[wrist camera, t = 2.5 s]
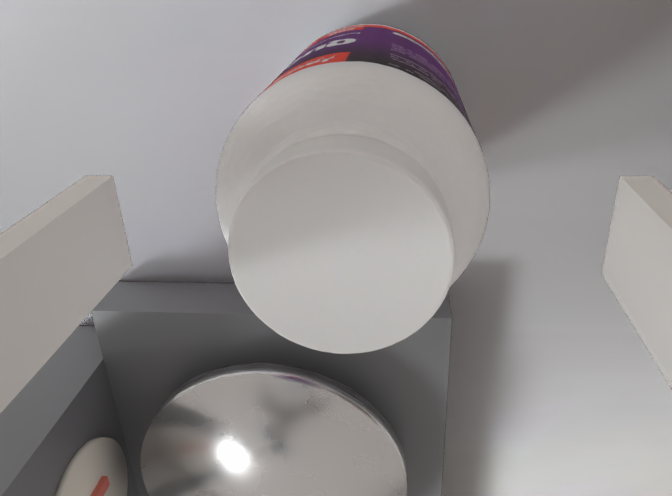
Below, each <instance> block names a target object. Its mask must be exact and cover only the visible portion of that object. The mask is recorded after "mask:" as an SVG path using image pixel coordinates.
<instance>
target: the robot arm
mask: <svg viewBox="0 0 672 496" xmlns="http://www.w3.org/2000/svg"><path fill="white" fill-rule="evenodd" d="M131 266H132V261H131V256H130V252H129V247H128V243H127V238H126V233H125V229H124V224H123V220H122V215H121V211H120V206H119V202H118V197H117V192H116V188H115V183H114V179H113V176H85V177H83V178H82V179H80V180H79V181H77V182H76V183H75V184H73V185H72V186H70V187H69V188H67V189H66V190H64V191H63V192H61V193H60V194H58V195H57V196H56V197H54V198H53V199H51V200H50V201H48V202H47V203H45V204H44V205H42V206H41V207H39V208H38V209H37V210H35V211H34V212H32V213H31V214H29V215H28V216H26V217H25V218H23V219H22V220H20V221H19V222H18V223H16V224H15V225H13V226H12V227H10V228H9V229H7V230H6V231H4V232H3V233H1V234H0V414H1V412H2V411H3V410H4V409H5V408H6V407H7V406H8V405H9V403H10V402H11V401H12V400H13V399H14V398H15V397H16V396H17V394H18V393H19V392H20V391H21V390H22V389H23V388H24V387H25V385H26V384H27V383H28V382H29V381H30V380H31V379H32V378H33V376H34V375H35V374H36V373H37V372H38V371H39V370H40V369H41V367H42V366H43V365H44V364H45V363H46V362H47V361H48V360H49V358H50V357H51V356H52V355H53V354H54V353H55V352H56V351H57V349H58V348H59V347H60V346H61V345H62V344H63V343H64V342H65V340H66V339H67V338H68V337H69V336H70V335H71V334H72V333H73V331H74V330H75V329H76V328H77V327H78V326H79V325H80V324H81V322H82V321H83V320H84V319H85V318H86V317H87V316H88V315H89V313H90V312H91V311H92V310H93V309H94V308H95V307H96V306H97V304H98V303H99V302H100V301H101V300H102V299H103V298H104V297H105V295H106V294H107V293H108V292H109V291H110V290H111V289H112V288H113V286H114V285H115V284H116V283H117V282H118V281H119V280H120V279H121V277H122V276H123V275H124V274H125V273H126V272H127V271H128V270H129V268H130V267H131ZM601 274H602V276H603V278H604V279H605V281H606V282H607V284H608V286H609V287H610V289H611V291H612V292H613V294H614V296H615V297H616V299H617V300H618V302H619V304H620V305H621V307H622V309H623V310H624V312H625V314H626V315H627V317H628V318H629V320H630V322H631V323H632V325H633V327H634V328H635V330H636V332H637V333H638V335H639V336H640V338H641V340H642V341H643V343H644V345H645V346H646V348H647V350H648V351H649V353H650V355H651V356H652V358H653V359H654V361H655V363H656V364H657V366H658V368H659V369H660V371H661V373H662V374H663V376H664V377H665V379H666V381H667V382H668V384H669V386H670V387H671V389H672V193H671V192H670V191H669V190H668V189H667V188H666V187H665V186H663V185H662V184H661V183H660V182H659V181H658V180H657V179H656V178H655V177H653V176H620V178H619V184H618V189H617V194H616V199H615V205H614V210H613V215H612V221H611V226H610V231H609V236H608V242H607V247H606V252H605V258H604V263H603V268H602V273H601Z"/></svg>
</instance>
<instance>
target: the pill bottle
mask: <svg viewBox="0 0 672 496" xmlns="http://www.w3.org/2000/svg"><path fill="white" fill-rule="evenodd" d="M489 204H490V187H489V176H488V171H487V166H486V163H485V159H484V156H483V153H482V150H481V147H480V145H479V142H478V140H477V137H476V135H475V133H474V131H473V128H472V126H471V123H470V121H469V119H468V116H467V114H466V111H465V109H464V106H463V104H462V101H461V99H460V96H459V94H458V91H457V88H456V86H455V83H454V81H453V78H452V76H451V74H450V72H449V71H448V69H447V68H446V66H445V64H444V63H443V61H442V60H441V59H440V58H439V56H438V55H437V54H436V53H435V52H434V51H433V50H432V49H431V48H430V47H429V46H428V45H426V44H425V43H424V42H423V41H421V40H420V39H418V38H416V37H415V36H413V35H411V34H409V33H407V32H405V31H403V30H400V29H397V28H394V27H391V26H386V25H380V24H357V25H351V26H346V27H343V28H340V29H337V30H335V31H332V32H330V33H328V34H326V35H324V36H322V37H321V38H319V39H318V40H316V41H315V42H313V43H312V44H311V45H310V46H309V47H308V48H306V49H305V50H304V51H303V52H302V53H301V54H300V55H299V56H298V57H297V58H296V59H295V60H294V61H293V62H292V63H291V64H290V65H289V66H288V67H287V68H286V69H285V70H284V71H283V72H282V73H281V74H280V75H279V76H278V77H277V78H276V79H275V80H274V81H273V82H272V83H271V84H270V85H269V86H268V87H267V88H266V89H265V90H264V91H263V92H262V93H261V94H260V95H259V96H258V97H257V98H256V99H255V100H254V101H253V102H252V103H251V104H250V105H249V106H248V107H247V109H246V110H245V111H244V112H243V114H242V115H241V116H240V118H239V119H238V120H237V122H236V123H235V125H234V127H233V128H232V130H231V132H230V134H229V136H228V138H227V140H226V143H225V145H224V148H223V151H222V154H221V157H220V161H219V165H218V170H217V176H216V206H217V213H218V218H219V222H220V226H221V229H222V233H223V235H224V237H225V240H226V242H227V244H228V257H229V264H230V269H231V273H232V276H233V279H234V282H235V285H236V287H237V289H238V291H239V293H240V294H241V296H242V298H243V299H244V301H245V302H246V304H247V305H248V306H249V307H250V309H251V310H252V311H253V312H254V314H255V315H256V316H257V317H258V318H259V319H260V320H261V321H263V322H264V323H265V324H266V325H267V326H268V327H270V328H271V329H272V330H274V331H275V332H276V333H278V334H279V335H281V336H283V337H285V338H286V339H288V340H290V341H292V342H295V343H297V344H300V345H302V346H305V347H308V348H310V349H314V350H318V351H323V352H330V353H339V354H352V353H364V352H371V351H375V350H378V349H382V348H385V347H388V346H390V345H393V344H395V343H397V342H399V341H401V340H403V339H405V338H407V337H409V336H410V335H412V334H413V333H415V332H416V331H418V330H419V329H420V328H421V327H422V326H423V325H424V324H425V323H426V322H427V321H428V320H429V319H430V318H431V317H432V316H433V315H434V314H435V312H436V311H437V310H438V308H439V307H440V306H441V304H442V302H443V300H444V299H445V297H446V295H447V292H448V290H449V288H450V286H451V285H452V284H453V283H454V282H455V281H456V280H457V279H458V278H459V277H460V275H461V274H462V273H463V271H464V270H465V269H466V268H467V266H468V265H469V263H470V262H471V260H472V258H473V257H474V255H475V253H476V251H477V249H478V247H479V245H480V243H481V240H482V238H483V234H484V231H485V228H486V224H487V219H488V213H489Z"/></svg>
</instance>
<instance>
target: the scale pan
mask: <svg viewBox="0 0 672 496" xmlns="http://www.w3.org/2000/svg"><path fill="white" fill-rule="evenodd" d="M141 471H142V477H143V481H144V484H145V487H146V490H147V492H148V494H149V496H407V473H406V461H405V457H404V453H403V448H402V446H401V444H400V441H399V439H398V437H397V435H396V433H395V432H394V430H393V428H392V427H391V425H390V424H389V422H388V421H387V420H386V419H385V417H384V416H383V415H382V414H381V413H380V412H379V410H378V409H376V408H375V407H374V406H373V405H372V404H371V403H370V402H369V401H368V400H367V399H365V398H364V397H362V396H361V395H360V394H358V393H357V392H355V391H354V390H353V389H351V388H349V387H347V386H346V385H344V384H342V383H340V382H338V381H337V380H334V379H332V378H330V377H327V376H325V375H322V374H320V373H317V372H314V371H310V370H307V369H304V368H300V367H295V366H290V365H285V364H275V363H242V364H235V365H228V366H224V367H220V368H216V369H213V370H210V371H207V372H205V373H202V374H200V375H198V376H196V377H194V378H192V379H190V380H189V381H187V382H185V383H184V384H182V385H181V386H180V387H179V388H177V389H176V390H175V391H174V392H172V393H171V395H170V396H169V397H168V398H167V399H166V400H165V401H164V402H163V404H162V406H161V407H160V409H159V410H158V412H157V414H156V415H155V417H154V419H153V421H152V423H151V425H150V427H149V428H148V431H147V433H146V436H145V438H144V441H143V445H142V450H141Z"/></svg>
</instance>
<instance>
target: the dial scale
mask: <svg viewBox="0 0 672 496" xmlns="http://www.w3.org/2000/svg"><path fill="white" fill-rule="evenodd" d="M91 313H92V317H93V321H94V325H95V326H78V327H77V328H76V329H75V330H74V331H73V333H72V334H71V335H70V336H69V337H68V338H67V339H66V340H65V342H64V343H63V344H62V345H61V346H60V347H59V348H58V349H57V351H56V352H55V353H54V354H53V355H52V356H51V357H50V358H49V360H48V361H47V362H46V363H45V364H44V365H43V366H42V367H41V369H40V370H39V371H38V372H37V373H36V374H35V375H34V376H33V378H32V379H31V380H30V381H29V382H28V383H27V384H26V385H25V387H24V388H23V389H22V390H21V391H20V392H19V393H18V394H17V396H16V397H15V398H14V399H13V400H12V401H11V402H10V403H9V405H8V406H7V407H6V408H5V409H4V410H3V411H2V412H1V414H0V496H149V494H148V492H147V490H146V487H145V484H144V481H143V477H142V471H141V450H142V445H143V441H144V438H145V436H146V433H147V431H148V428H149V427H150V425H151V423H152V421H153V419H154V417H155V415H156V414H157V412H158V410H159V409H160V407H161V406H162V404H163V402H164V401H165V400H166V399H167V398H168V397H169V396H170V395H171V393H172V392H174V391H175V390H176V389H177V388H179V387H180V386H181V385H182V384H184V383H185V382H187V381H189V380H190V379H192V378H194V377H196V376H198V375H200V374H202V373H205V372H207V371H210V370H213V369H216V368H220V367H224V366H228V365H235V364H242V363H275V364H285V365H290V366H295V367H300V368H304V369H307V370H310V371H314V372H317V373H320V374H322V375H325V376H327V377H330V378H332V379H334V380H337V381H338V382H340V383H342V384H344V385H346V386H347V387H349V388H351V389H353V390H354V391H355V392H357V393H358V394H360V395H361V396H362V397H364V398H365V399H367V400H368V401H369V402H370V403H371V404H372V405H373V406H374V407H375V408H376V409H378V410H379V412H380V413H381V414H382V415H383V416H384V417H385V419H386V420H387V421H388V422H389V424H390V425H391V427H392V428H393V430H394V432H395V433H396V435H397V437H398V439H399V441H400V444H401V446H402V448H403V453H404V457H405V461H406V473H407V496H441V492H442V475H443V459H444V442H445V425H446V409H447V392H448V375H449V359H450V342H451V325H452V316H451V309H450V302H449V295H448V292H447V295H446V297H445V299H444V300H443V302H442V304H441V306H440V307H439V308H438V310H437V311H436V312H435V314H434V315H433V316H432V317H431V318H430V319H429V320H428V321H427V322H426V323H425V324H424V325H423V326H422V327H421V328H420V329H419V330H418V331H416V332H415V333H413V334H412V335H410V336H409V337H407V338H405V339H403V340H401V341H399V342H397V343H395V344H393V345H390V346H388V347H385V348H382V349H378V350H375V351H371V352H364V353H352V354H339V353H330V352H323V351H318V350H314V349H310V348H308V347H305V346H302V345H300V344H297V343H295V342H292V341H290V340H288V339H286V338H285V337H283V336H281V335H279V334H278V333H276V332H275V331H274V330H272V329H271V328H270V327H268V326H267V325H266V324H265V323H264V322H263V321H261V320H260V319H259V318H258V317H257V316H256V315H255V314H254V312H253V311H252V310H251V309H250V307H249V306H248V305H247V304H246V302H245V301H244V299H243V298H242V296H241V294H240V293H239V291H238V289H237V287H236V285H235V283H183V282H122V281H118V282H117V283H116V284H115V285H114V286H113V288H112V289H111V290H110V291H109V292H108V293H107V294H106V295H105V297H104V298H103V299H102V300H101V301H100V302H99V303H98V304H97V306H96V307H95V308H94V309H93V310H92V311H91Z"/></svg>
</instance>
